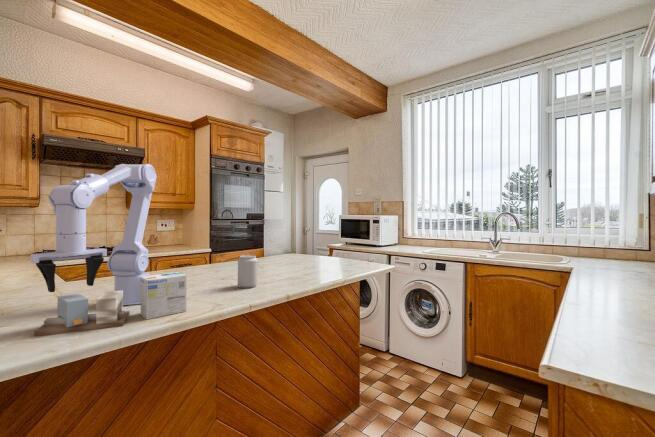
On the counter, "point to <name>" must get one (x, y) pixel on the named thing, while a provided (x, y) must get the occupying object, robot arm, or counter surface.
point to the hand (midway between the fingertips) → (71, 288)
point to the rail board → (92, 316)
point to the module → (73, 309)
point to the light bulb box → (163, 294)
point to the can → (247, 271)
